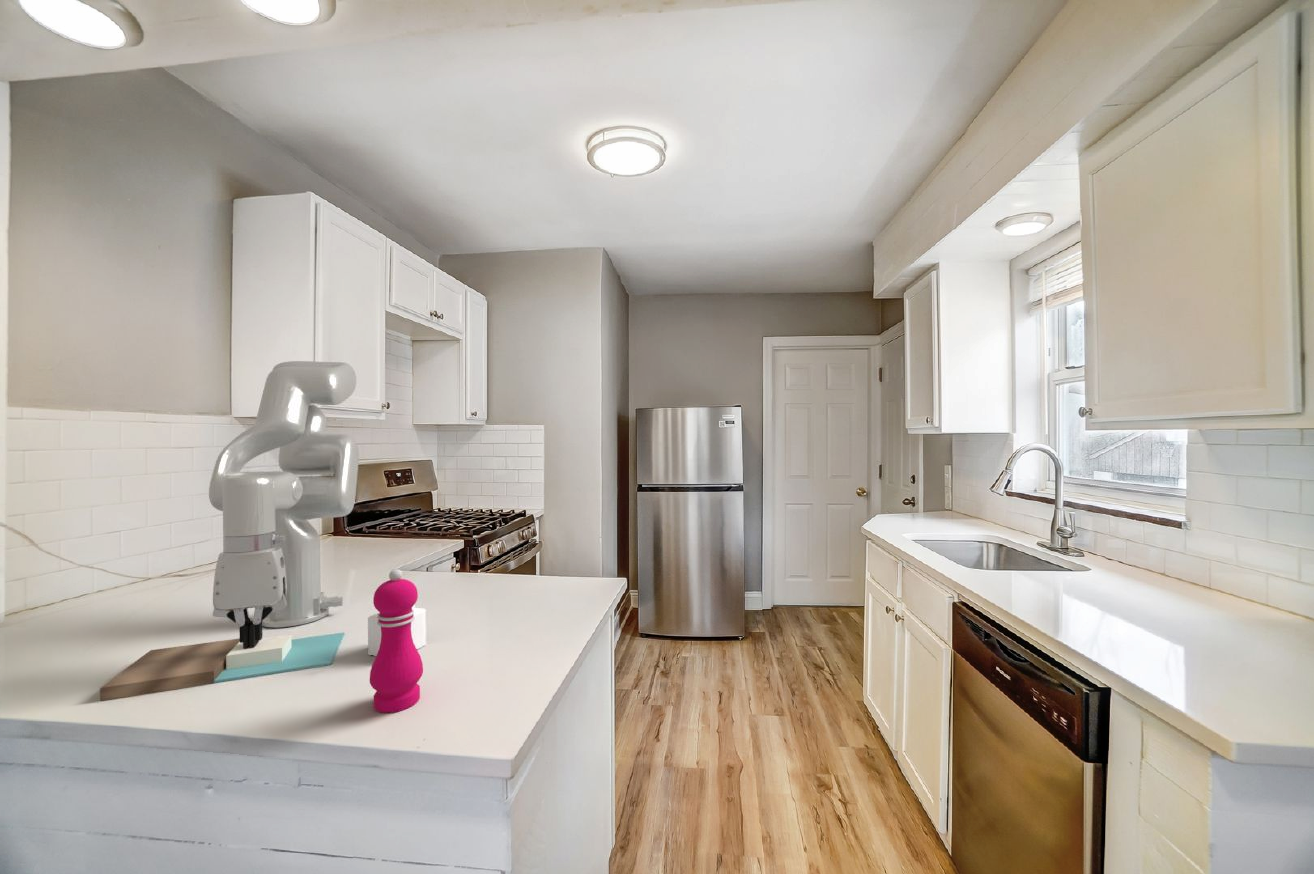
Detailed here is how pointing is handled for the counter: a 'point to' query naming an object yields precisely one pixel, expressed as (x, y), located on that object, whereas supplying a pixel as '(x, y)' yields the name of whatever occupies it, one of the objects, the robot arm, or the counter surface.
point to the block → (259, 652)
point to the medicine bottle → (416, 630)
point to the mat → (292, 658)
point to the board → (170, 669)
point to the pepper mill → (396, 647)
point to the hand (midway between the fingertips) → (251, 645)
